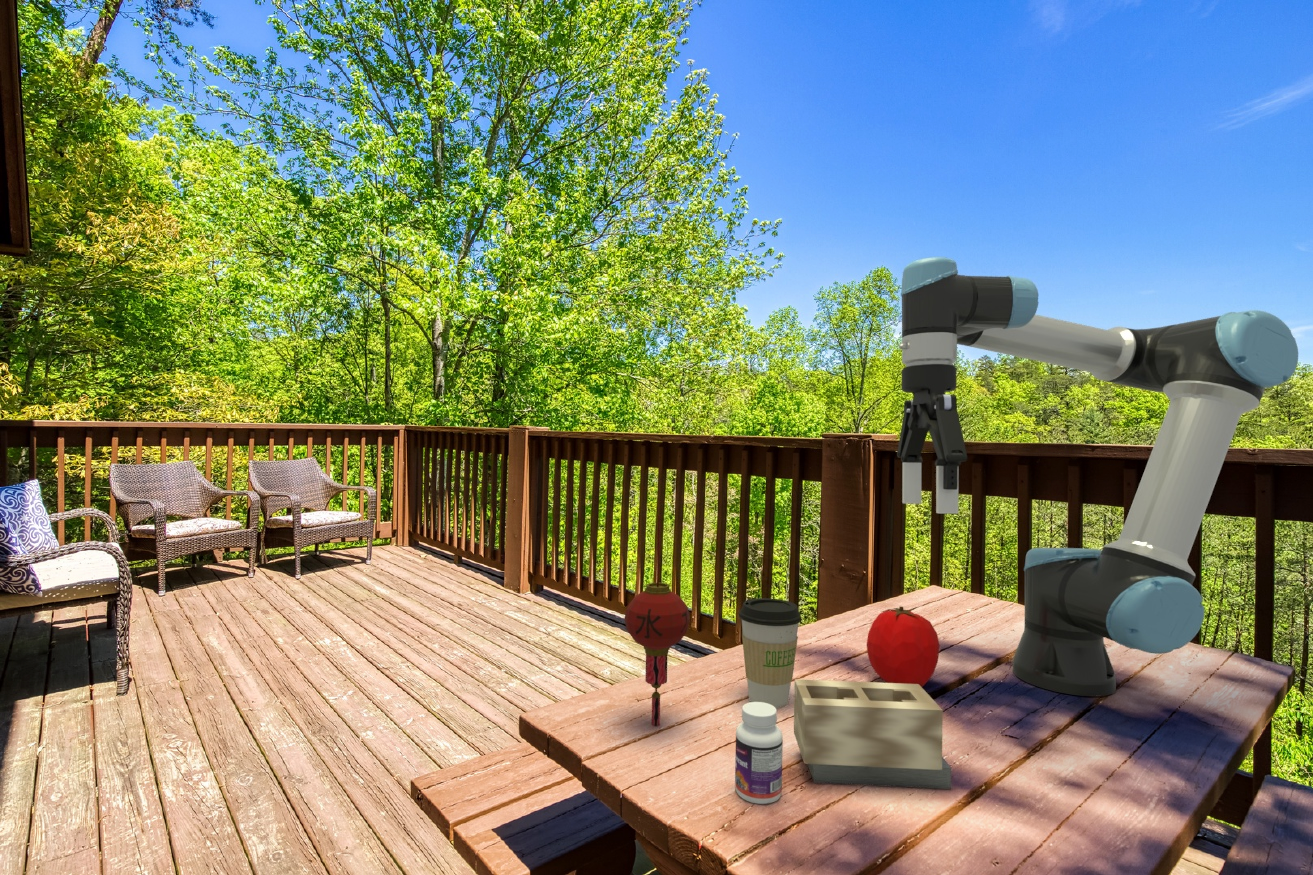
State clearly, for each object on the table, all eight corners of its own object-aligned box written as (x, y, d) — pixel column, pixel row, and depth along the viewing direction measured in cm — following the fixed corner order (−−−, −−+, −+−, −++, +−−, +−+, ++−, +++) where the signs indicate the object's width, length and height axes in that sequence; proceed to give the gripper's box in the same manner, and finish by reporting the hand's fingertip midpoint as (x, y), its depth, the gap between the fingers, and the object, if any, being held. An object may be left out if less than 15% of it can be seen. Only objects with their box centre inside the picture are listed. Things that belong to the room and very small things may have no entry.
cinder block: (917, 737, 82) (918, 684, 82) (941, 769, 74) (942, 710, 74) (793, 732, 83) (794, 679, 83) (804, 763, 75) (805, 704, 75)
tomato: (868, 695, 102) (869, 613, 102) (864, 669, 114) (865, 596, 114) (946, 704, 99) (947, 620, 99) (933, 676, 110) (934, 601, 110)
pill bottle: (730, 780, 76) (731, 699, 76) (774, 778, 76) (775, 698, 76) (740, 806, 70) (741, 719, 70) (787, 804, 71) (788, 718, 71)
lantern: (696, 715, 93) (699, 513, 93) (677, 744, 84) (680, 520, 84) (636, 706, 96) (639, 510, 96) (612, 732, 87) (615, 517, 87)
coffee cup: (801, 716, 94) (802, 615, 94) (734, 709, 96) (736, 610, 96) (799, 690, 103) (801, 599, 103) (739, 685, 105) (740, 595, 105)
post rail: (928, 759, 81) (929, 708, 81) (950, 788, 74) (951, 733, 74) (803, 753, 82) (804, 703, 82) (814, 782, 75) (814, 728, 75)
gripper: (877, 374, 106) (877, 499, 106) (936, 353, 81) (935, 518, 81) (922, 374, 106) (922, 500, 106) (995, 353, 81) (995, 518, 81)
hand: (928, 508), depth 93 cm, fingers open, 13 cm apart
